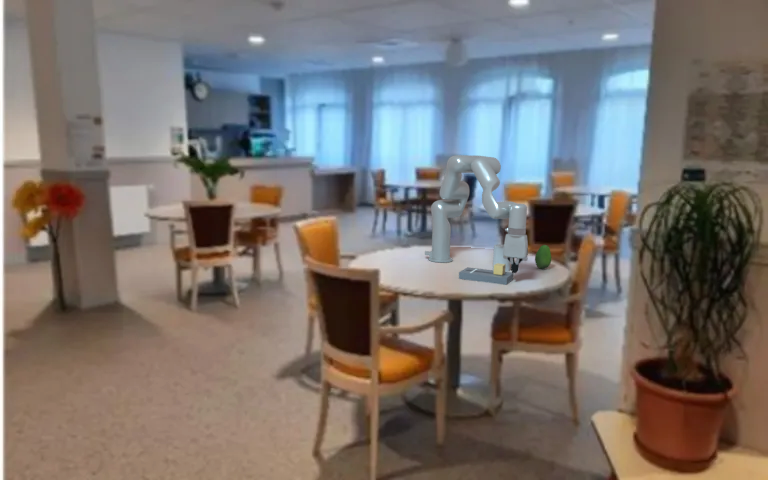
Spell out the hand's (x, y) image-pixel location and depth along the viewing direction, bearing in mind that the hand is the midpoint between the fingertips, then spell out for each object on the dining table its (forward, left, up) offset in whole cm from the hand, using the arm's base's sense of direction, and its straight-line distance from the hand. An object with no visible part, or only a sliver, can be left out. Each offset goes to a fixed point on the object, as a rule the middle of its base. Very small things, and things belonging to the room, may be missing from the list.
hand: (514, 272), depth 259 cm
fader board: (-13, 0, -5) cm, 14 cm away
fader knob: (-7, 0, -1) cm, 7 cm away
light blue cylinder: (-12, +22, -5) cm, 25 cm away
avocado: (+5, +36, -5) cm, 37 cm away
